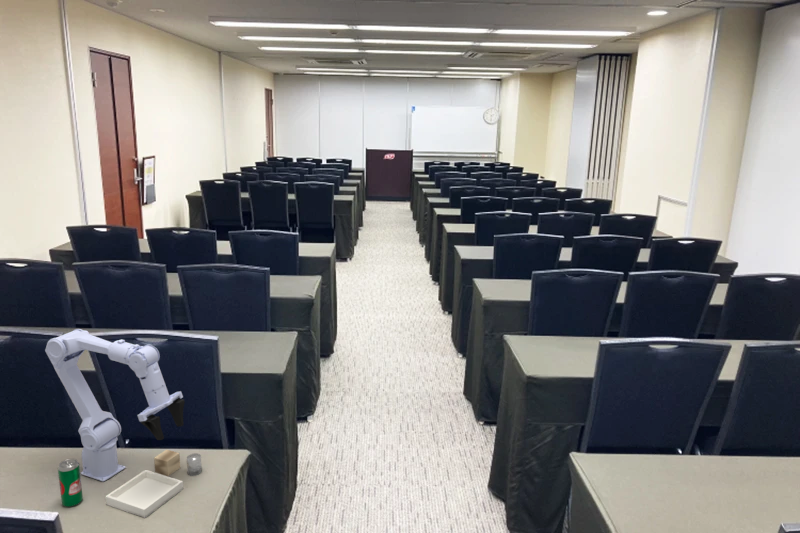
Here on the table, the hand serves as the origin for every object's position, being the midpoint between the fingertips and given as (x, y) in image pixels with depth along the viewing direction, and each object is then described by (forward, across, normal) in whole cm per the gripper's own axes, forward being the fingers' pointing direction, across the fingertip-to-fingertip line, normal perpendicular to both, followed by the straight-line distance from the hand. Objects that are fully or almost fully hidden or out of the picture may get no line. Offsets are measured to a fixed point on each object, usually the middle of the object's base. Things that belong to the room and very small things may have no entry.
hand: (170, 432), depth 159 cm
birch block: (+14, +5, +12) cm, 19 cm away
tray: (+15, -8, +8) cm, 19 cm away
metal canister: (+17, +7, +5) cm, 19 cm away
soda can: (+10, -18, +24) cm, 31 cm away
